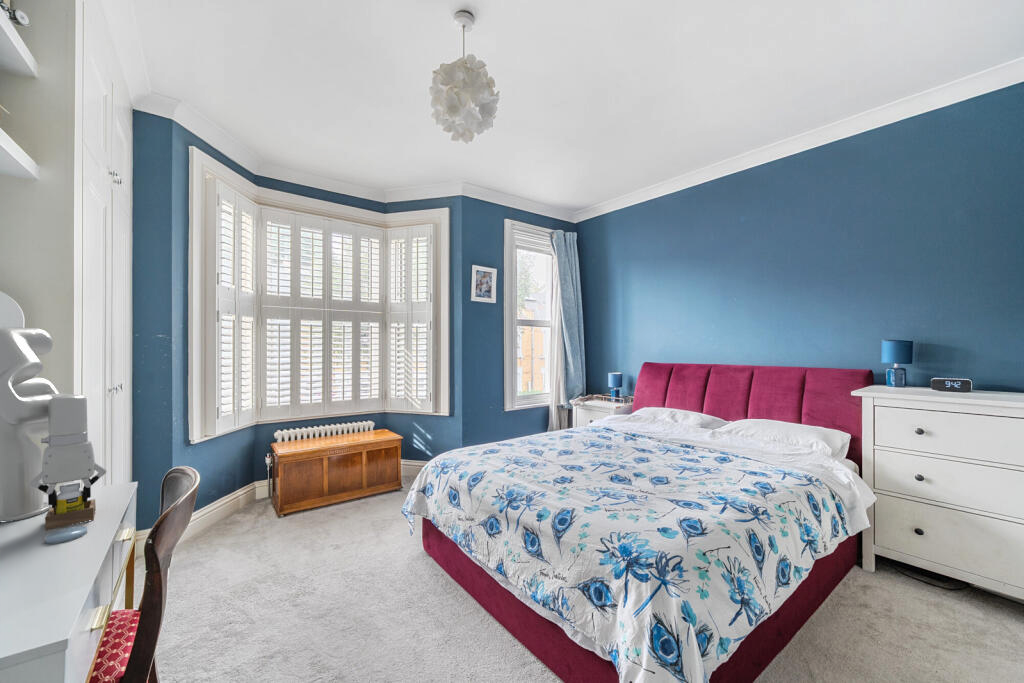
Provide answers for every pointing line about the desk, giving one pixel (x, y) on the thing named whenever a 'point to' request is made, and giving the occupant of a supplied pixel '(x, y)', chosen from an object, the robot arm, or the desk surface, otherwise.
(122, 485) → the desk surface
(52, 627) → the desk surface
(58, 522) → the walnut holder
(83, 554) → the desk surface
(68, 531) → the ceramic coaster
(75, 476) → the robot arm
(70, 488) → the supplement bottle
